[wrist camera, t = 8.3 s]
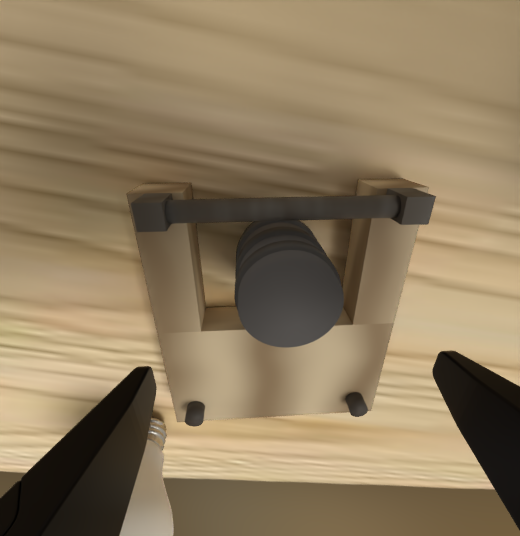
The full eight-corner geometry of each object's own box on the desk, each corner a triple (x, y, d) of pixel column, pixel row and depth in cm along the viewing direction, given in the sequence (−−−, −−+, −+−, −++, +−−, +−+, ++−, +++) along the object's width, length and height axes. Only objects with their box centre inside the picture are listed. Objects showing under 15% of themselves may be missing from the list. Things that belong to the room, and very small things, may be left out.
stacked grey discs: (317, 210, 16) (355, 253, 11) (311, 282, 18) (340, 347, 13) (234, 212, 16) (230, 257, 10) (238, 284, 18) (236, 352, 13)
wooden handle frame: (402, 178, 15) (454, 196, 12) (359, 383, 23) (381, 435, 19) (143, 183, 15) (109, 203, 11) (183, 393, 22) (171, 448, 18)
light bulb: (176, 385, 22) (122, 600, 12) (202, 436, 25) (176, 642, 15) (94, 401, 22) (-25, 625, 12) (129, 450, 25) (57, 660, 15)
